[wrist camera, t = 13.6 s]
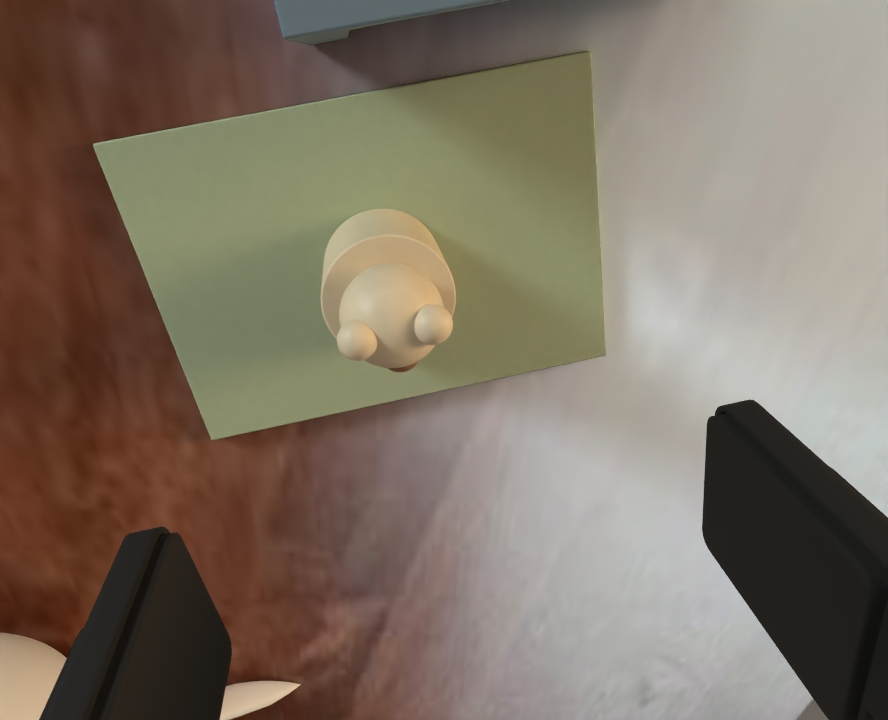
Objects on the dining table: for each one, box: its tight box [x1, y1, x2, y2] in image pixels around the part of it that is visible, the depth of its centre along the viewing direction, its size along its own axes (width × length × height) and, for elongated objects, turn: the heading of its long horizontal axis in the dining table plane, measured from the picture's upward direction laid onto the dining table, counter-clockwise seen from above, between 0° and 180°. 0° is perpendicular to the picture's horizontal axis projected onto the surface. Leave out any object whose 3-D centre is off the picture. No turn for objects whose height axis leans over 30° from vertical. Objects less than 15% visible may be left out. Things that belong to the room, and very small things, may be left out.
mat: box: [93, 51, 606, 440], centre depth 28 cm, size 20×14×1 cm
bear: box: [320, 209, 456, 372], centre depth 25 cm, size 5×6×8 cm
